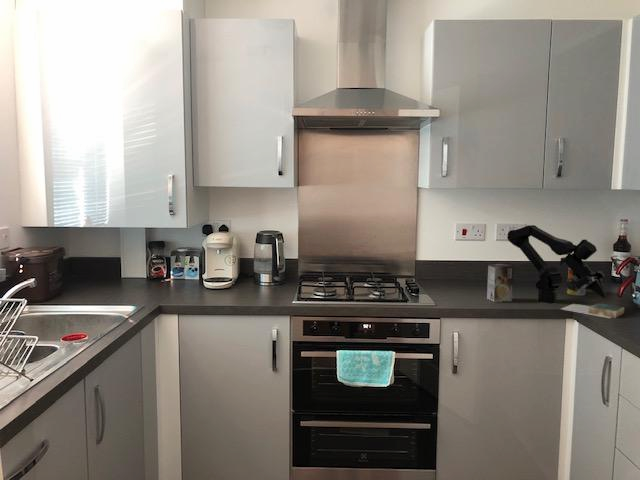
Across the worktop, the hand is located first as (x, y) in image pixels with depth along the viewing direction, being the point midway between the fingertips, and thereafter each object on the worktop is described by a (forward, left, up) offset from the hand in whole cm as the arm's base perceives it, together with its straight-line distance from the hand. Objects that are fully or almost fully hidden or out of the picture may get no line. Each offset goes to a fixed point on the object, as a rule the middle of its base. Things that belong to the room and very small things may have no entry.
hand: (604, 297), depth 211 cm
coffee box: (-40, -9, -7) cm, 42 cm away
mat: (-5, 0, -7) cm, 9 cm away
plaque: (-4, 0, -5) cm, 7 cm away
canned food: (-22, +31, -7) cm, 39 cm away
